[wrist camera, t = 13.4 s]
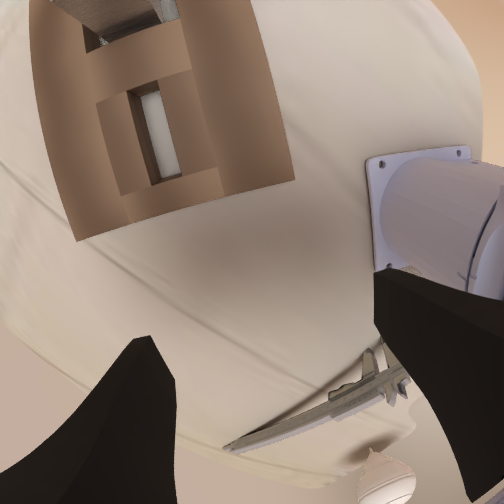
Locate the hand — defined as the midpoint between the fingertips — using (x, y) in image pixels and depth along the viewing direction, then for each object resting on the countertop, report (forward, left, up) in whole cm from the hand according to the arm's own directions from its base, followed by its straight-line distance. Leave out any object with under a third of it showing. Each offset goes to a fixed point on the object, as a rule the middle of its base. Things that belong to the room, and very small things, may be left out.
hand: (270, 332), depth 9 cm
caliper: (-1, +17, -10) cm, 20 cm away
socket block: (+3, -11, -9) cm, 15 cm away
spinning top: (-9, +33, -10) cm, 36 cm away
